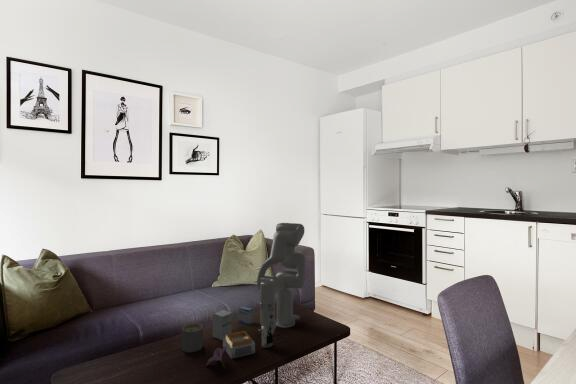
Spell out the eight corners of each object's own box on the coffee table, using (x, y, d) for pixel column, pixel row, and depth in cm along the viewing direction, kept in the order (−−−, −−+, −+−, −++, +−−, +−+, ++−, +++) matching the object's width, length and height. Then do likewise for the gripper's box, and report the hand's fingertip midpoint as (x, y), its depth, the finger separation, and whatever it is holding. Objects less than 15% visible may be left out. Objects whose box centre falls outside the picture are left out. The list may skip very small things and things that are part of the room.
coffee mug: (203, 350, 163) (204, 330, 162) (182, 353, 159) (183, 333, 159) (199, 338, 175) (200, 319, 175) (180, 341, 171) (180, 322, 171)
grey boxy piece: (244, 341, 173) (245, 328, 173) (255, 353, 160) (255, 340, 160) (222, 345, 167) (222, 333, 167) (231, 359, 154) (231, 345, 154)
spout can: (269, 341, 172) (269, 322, 171) (274, 346, 167) (274, 326, 166) (256, 344, 168) (256, 325, 168) (260, 349, 163) (260, 329, 163)
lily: (232, 360, 155) (223, 340, 157) (238, 361, 145) (229, 341, 147) (208, 375, 149) (200, 354, 151) (213, 377, 139) (204, 355, 141)
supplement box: (221, 340, 173) (221, 316, 173) (212, 336, 177) (212, 313, 177) (232, 335, 179) (232, 312, 179) (222, 332, 183) (223, 309, 183)
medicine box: (238, 322, 197) (238, 307, 197) (242, 319, 201) (242, 305, 201) (249, 325, 193) (249, 310, 193) (253, 322, 197) (253, 308, 197)
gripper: (281, 310, 162) (281, 346, 162) (267, 299, 177) (266, 332, 177) (267, 312, 158) (267, 349, 158) (254, 301, 173) (253, 335, 174)
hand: (266, 340), depth 168 cm, fingers closed on spout can, 5 cm apart
